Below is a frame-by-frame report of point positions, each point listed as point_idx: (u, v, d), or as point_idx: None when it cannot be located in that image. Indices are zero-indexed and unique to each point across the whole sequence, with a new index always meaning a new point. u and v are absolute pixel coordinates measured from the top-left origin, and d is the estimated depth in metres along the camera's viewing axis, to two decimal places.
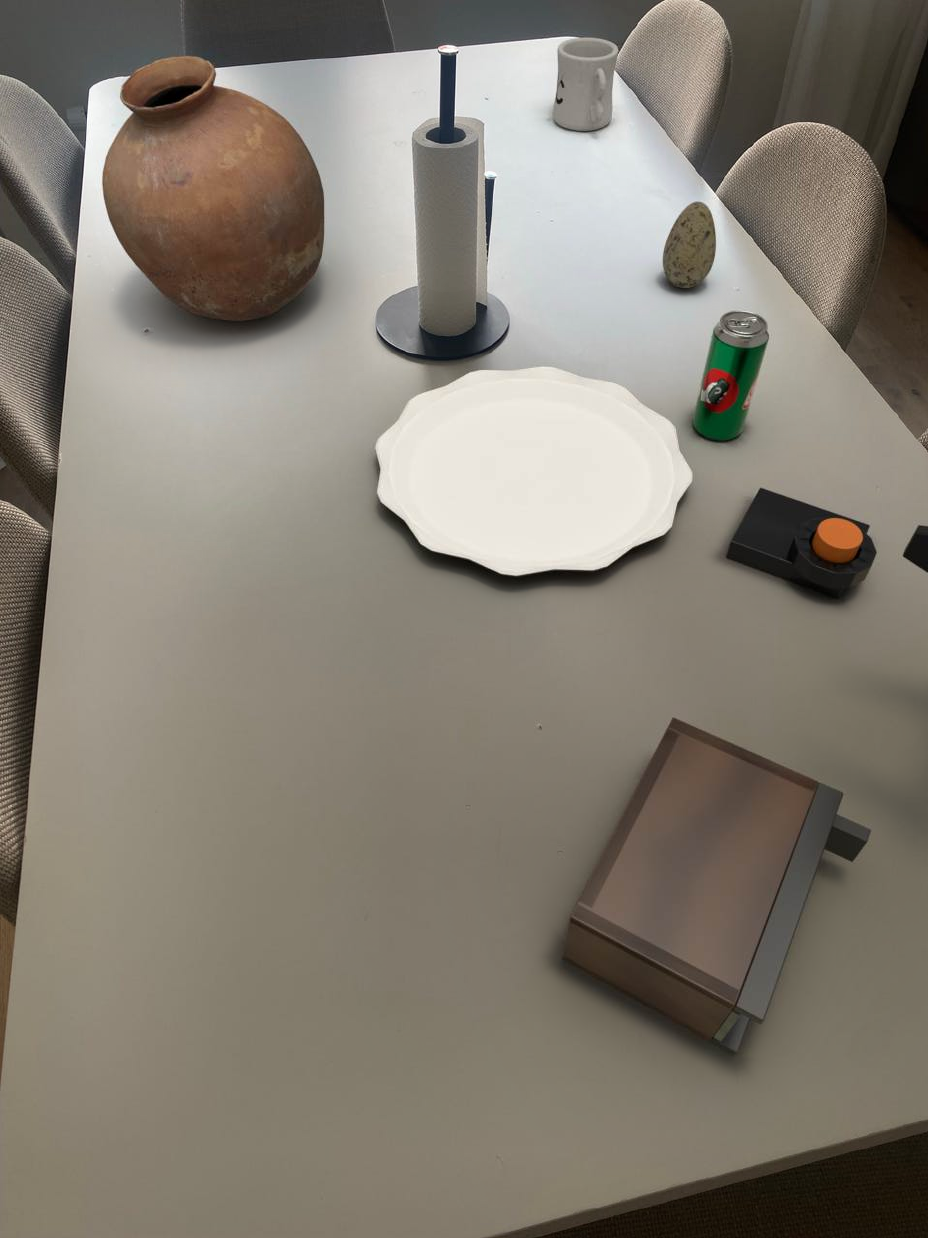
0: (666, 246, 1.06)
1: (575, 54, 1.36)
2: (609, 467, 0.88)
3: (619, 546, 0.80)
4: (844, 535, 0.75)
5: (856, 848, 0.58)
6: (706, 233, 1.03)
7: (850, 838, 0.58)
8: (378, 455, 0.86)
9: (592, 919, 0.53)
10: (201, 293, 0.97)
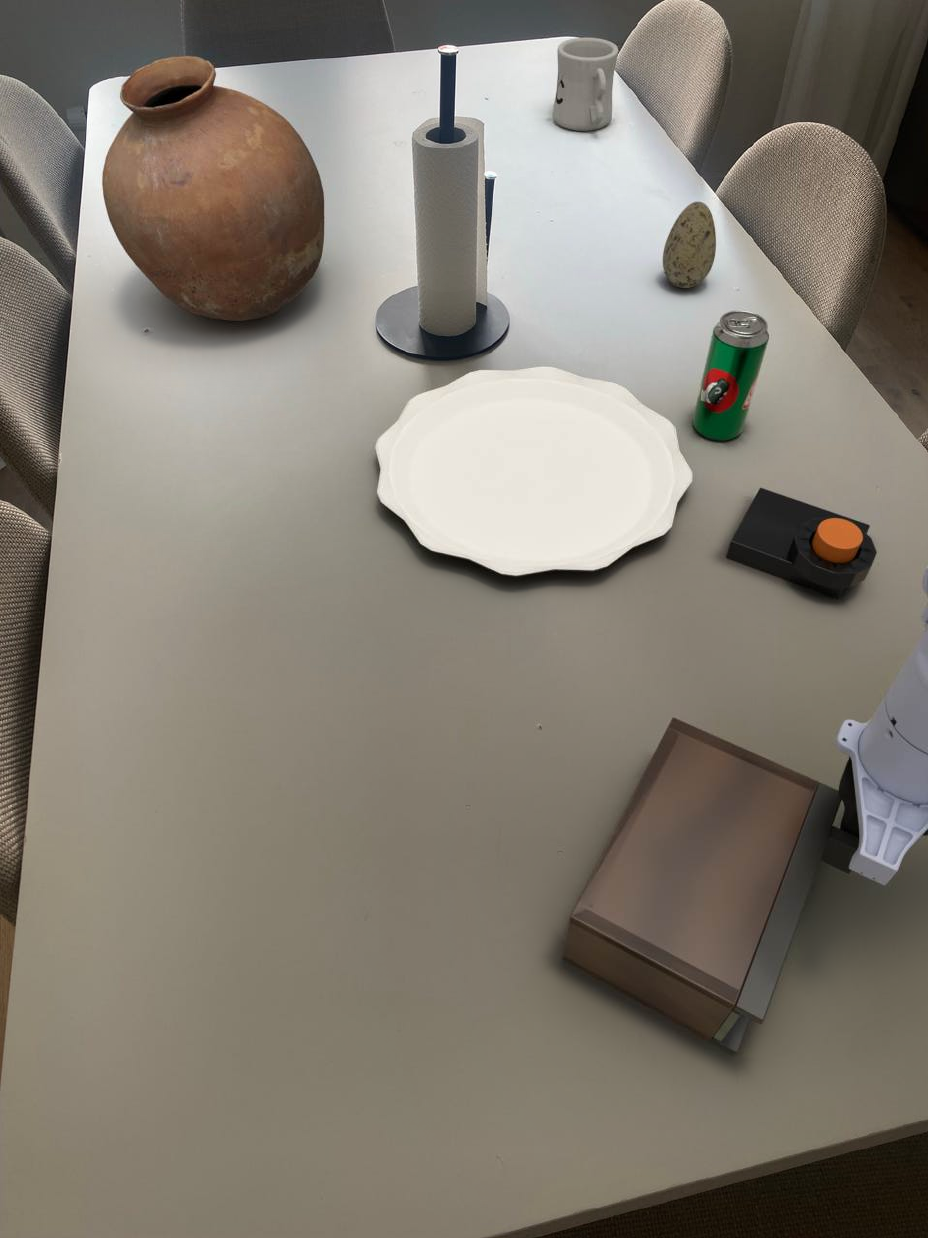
0: (666, 246, 1.06)
1: (575, 54, 1.36)
2: (609, 467, 0.88)
3: (619, 546, 0.80)
4: (844, 535, 0.75)
5: None
6: (707, 233, 1.03)
7: (846, 850, 0.57)
8: (378, 455, 0.86)
9: (592, 919, 0.53)
10: (201, 293, 0.97)
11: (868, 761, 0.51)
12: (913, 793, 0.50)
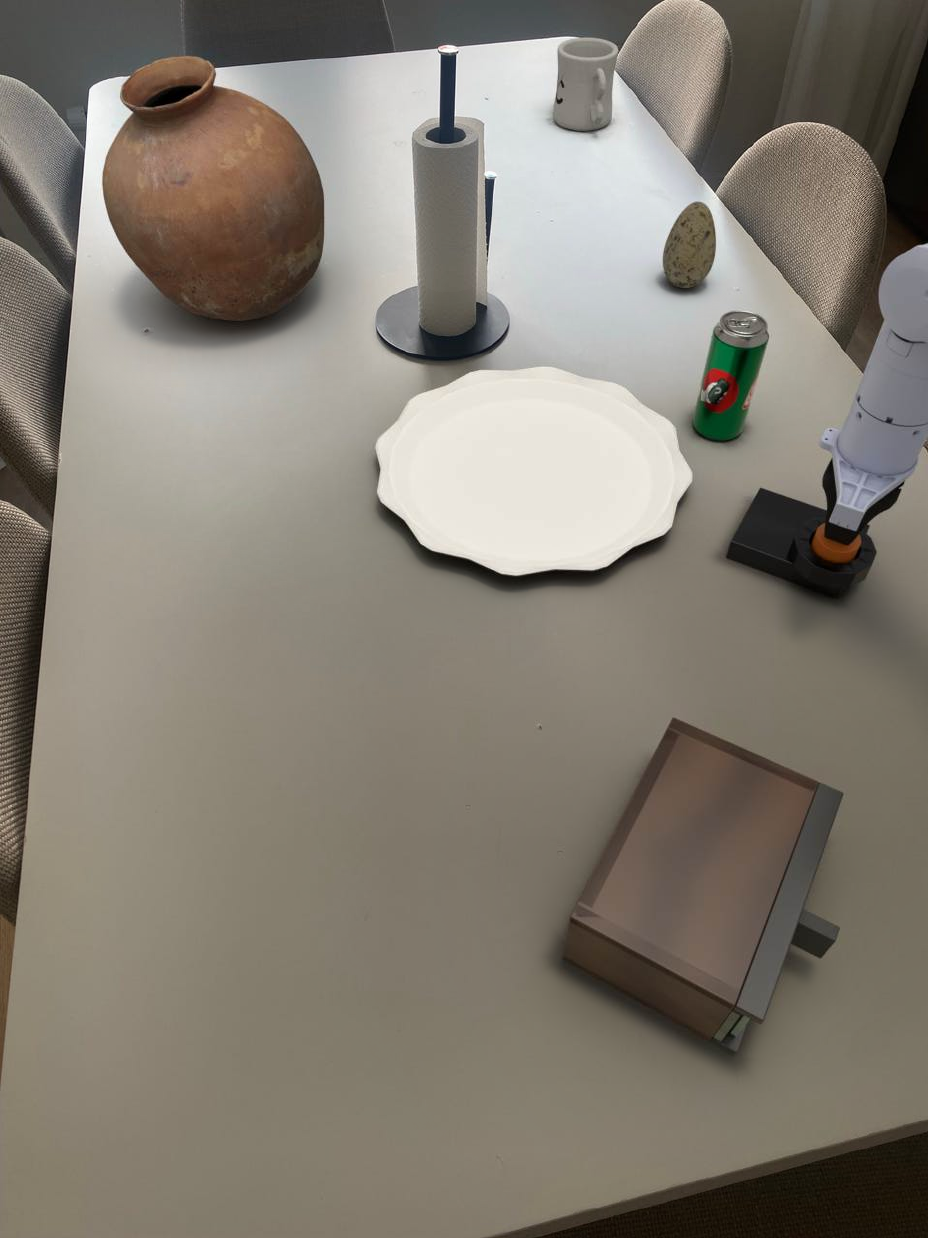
0: (666, 246, 1.06)
1: (575, 54, 1.36)
2: (609, 467, 0.88)
3: (619, 546, 0.80)
4: None
5: (824, 947, 0.54)
6: (706, 233, 1.03)
7: (817, 936, 0.54)
8: (378, 454, 0.86)
9: (592, 919, 0.53)
10: (201, 293, 0.97)
11: (844, 447, 0.68)
12: (877, 464, 0.66)
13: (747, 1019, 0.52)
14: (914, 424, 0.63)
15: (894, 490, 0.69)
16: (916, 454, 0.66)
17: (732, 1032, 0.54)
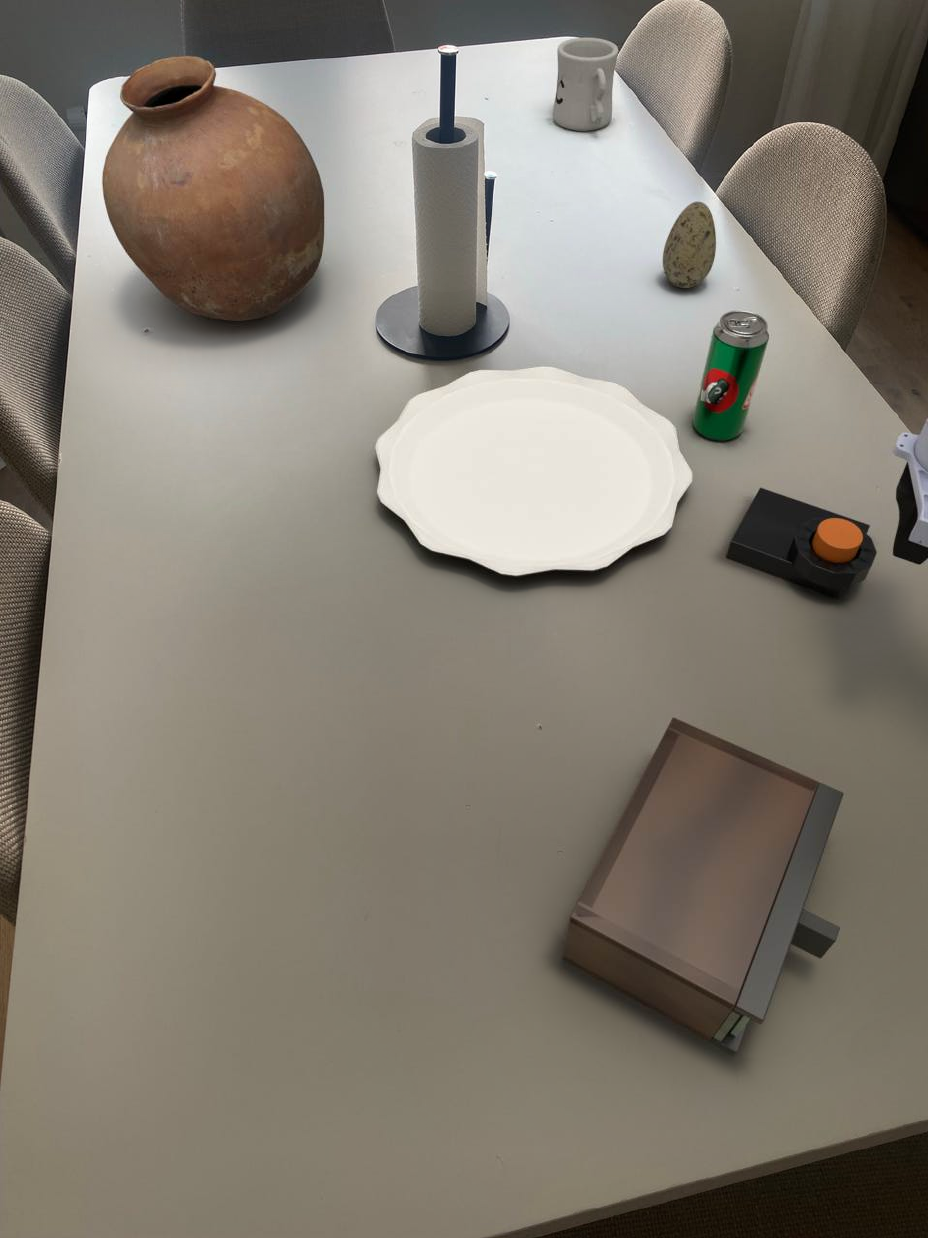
0: (666, 246, 1.06)
1: (575, 54, 1.36)
2: (609, 467, 0.88)
3: (619, 546, 0.80)
4: (844, 535, 0.75)
5: (824, 947, 0.54)
6: (707, 233, 1.03)
7: (817, 936, 0.54)
8: (378, 455, 0.86)
9: (592, 919, 0.53)
10: (201, 293, 0.97)
11: (924, 455, 0.59)
12: None
13: (747, 1019, 0.52)
14: None
15: None
16: None
17: (732, 1032, 0.54)
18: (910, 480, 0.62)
